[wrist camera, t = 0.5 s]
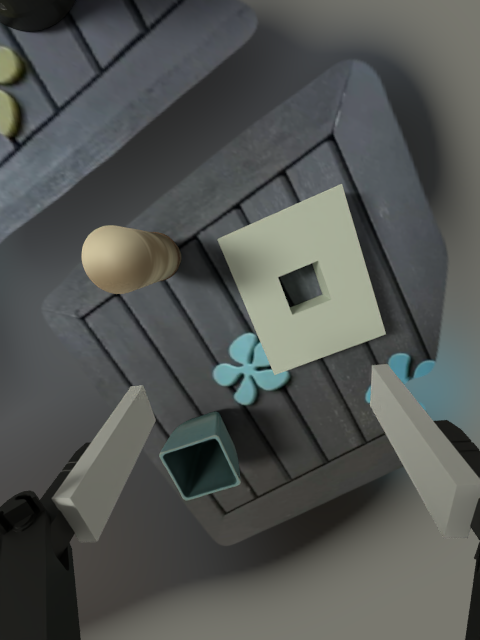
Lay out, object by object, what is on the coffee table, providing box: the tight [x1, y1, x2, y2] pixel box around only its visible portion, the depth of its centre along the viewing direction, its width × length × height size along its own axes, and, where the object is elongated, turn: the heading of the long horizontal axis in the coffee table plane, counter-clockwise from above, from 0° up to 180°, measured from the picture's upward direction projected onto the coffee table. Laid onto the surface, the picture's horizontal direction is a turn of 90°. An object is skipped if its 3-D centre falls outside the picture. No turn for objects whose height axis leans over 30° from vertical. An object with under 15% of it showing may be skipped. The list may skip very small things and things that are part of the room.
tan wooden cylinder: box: [82, 225, 181, 294], centre depth 30 cm, size 6×6×15 cm
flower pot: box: [159, 411, 241, 500], centre depth 40 cm, size 9×9×9 cm
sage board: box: [217, 184, 386, 375], centre depth 36 cm, size 20×16×4 cm
